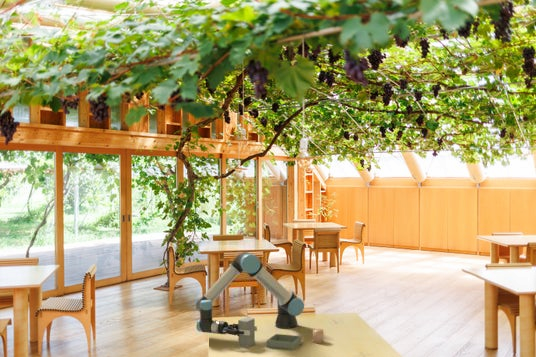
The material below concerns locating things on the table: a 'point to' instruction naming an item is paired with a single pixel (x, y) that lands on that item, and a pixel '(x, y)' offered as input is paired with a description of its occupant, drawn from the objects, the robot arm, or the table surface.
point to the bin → (284, 341)
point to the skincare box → (247, 325)
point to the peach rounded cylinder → (318, 336)
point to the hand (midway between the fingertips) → (253, 330)
